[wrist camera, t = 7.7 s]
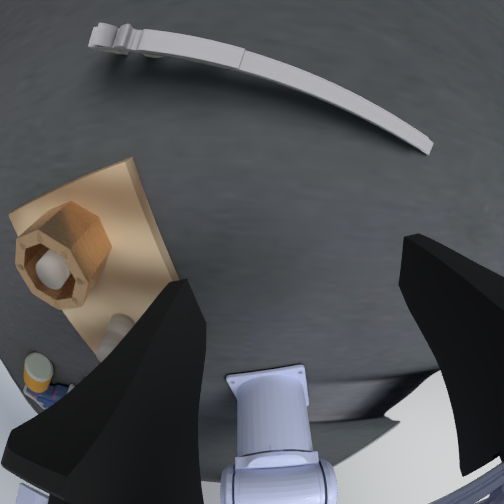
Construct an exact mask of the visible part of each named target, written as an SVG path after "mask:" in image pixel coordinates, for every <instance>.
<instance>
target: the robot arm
mask: <svg viewBox="0 0 504 504" xmlns="http://www.w3.org/2000/svg"><path fill="white" fill-rule="evenodd" d="M399 287H400V289H401V292H402V294H403V297H404V299H405V301H406V304H407V306H408V308H409V310H410V312H411V314H412V316H413V317H414V319H415V321H416V323H417V325H418V326H419V328H420V330H421V332H422V334H423V335H424V337H425V339H426V341H427V343H428V345H429V347H430V348H431V350H432V352H433V354H434V356H435V358H436V360H437V363H438V365H439V367H440V370H441V372H442V376H443V379H444V381H445V384H446V388H447V390H448V394H449V398H450V402H451V406H452V409H453V414H454V419H455V425H456V430H457V437H458V446H459V459H460V470H461V473H462V476H463V477H464V476H466V475H468V474H470V473H472V472H473V471H475V470H477V469H479V468H480V467H482V466H484V465H486V464H487V463H489V462H490V461H492V460H494V459H495V458H497V457H498V456H500V458H501V461H502V463H500V464H499V465H497V466H496V467H495V468H493V469H491V470H490V471H488V472H487V473H485V474H484V475H482V476H481V477H479V478H477V479H476V480H474V481H472V482H471V483H469V484H467V485H465V486H463V487H462V488H460V489H458V490H456V491H454V492H452V493H450V494H448V495H447V496H444V497H442V498H440V499H438V500H436V501H434V502H431V503H429V504H474V503H475V502H477V501H479V500H480V499H482V498H484V497H485V496H487V495H488V494H490V496H489V498H487V499H484V500H482V501H480V502H478V503H475V504H504V277H503V276H501V275H499V274H497V273H495V272H493V271H491V270H489V269H487V268H485V267H483V266H481V265H479V264H477V263H476V262H474V261H472V260H470V259H468V258H466V257H465V256H463V255H461V254H459V253H457V252H455V251H454V250H452V249H450V248H448V247H446V246H444V245H442V244H440V243H439V242H437V241H435V240H433V239H430V238H428V237H426V236H424V235H421V234H414V235H410V236H405V237H404V241H403V252H402V261H401V270H400V278H399ZM205 353H206V321H205V319H204V317H203V315H202V313H201V310H200V308H199V306H198V304H197V301H196V299H195V297H194V295H193V292H192V290H191V288H190V285H189V283H188V281H187V279H183V280H177V281H172V282H169V283H168V284H167V285H166V286H165V288H164V289H163V290H162V291H161V292H160V294H159V295H158V296H157V297H156V298H155V300H154V301H153V302H152V303H151V305H150V306H149V307H148V309H147V310H146V311H145V312H144V313H143V315H142V316H141V317H140V318H139V320H138V321H137V322H136V324H135V325H134V326H133V327H132V328H131V329H130V331H129V332H128V333H127V334H126V335H125V336H124V338H123V339H122V340H121V341H120V342H119V344H118V345H117V346H116V347H115V348H114V349H113V350H112V352H111V353H110V354H109V355H108V356H107V357H106V358H105V359H104V360H103V361H102V362H101V363H100V364H99V365H98V366H97V367H96V368H95V369H94V370H93V371H92V372H91V373H90V374H89V375H88V376H87V377H86V378H84V379H83V380H82V381H81V382H80V383H79V384H78V385H76V386H75V387H74V388H73V389H72V390H71V391H70V392H68V393H67V394H66V395H65V396H64V397H62V398H61V399H60V400H58V401H57V402H56V403H54V404H53V405H52V406H50V407H49V408H47V409H46V410H44V411H43V412H42V413H40V414H38V415H37V416H35V417H34V418H32V419H30V420H29V421H27V422H25V423H23V424H22V425H20V426H18V427H17V428H15V429H13V430H12V431H11V433H10V435H9V438H8V441H7V444H6V447H5V450H4V454H3V457H2V461H1V464H2V466H3V467H4V468H5V469H7V470H8V471H10V472H11V473H13V474H15V475H16V476H18V477H20V478H21V479H23V480H25V481H26V482H28V483H30V484H32V485H34V486H35V487H37V488H39V489H41V490H43V491H45V492H47V493H49V494H50V496H47V495H45V494H43V493H41V492H39V491H38V490H35V489H34V488H31V487H29V486H27V485H25V484H23V483H20V485H19V490H18V495H17V500H16V504H204V502H203V495H202V488H201V478H200V467H199V450H198V409H199V400H200V392H201V384H202V377H203V369H204V361H205ZM226 381H227V382H228V384H229V386H230V388H231V390H232V391H233V393H234V395H235V397H236V398H237V457H235V465H228V466H227V468H225V469H224V470H223V472H222V476H221V488H220V489H221V490H220V495H221V496H220V497H221V504H336V503H337V494H338V492H337V481H336V476H335V472H334V469H333V467H332V465H331V464H330V463H329V462H327V461H326V460H325V459H324V458H321V459H319V458H318V452H317V451H315V452H313V448H312V441H311V434H310V427H309V421H308V414H307V407H306V406H308V405H309V400H308V391H307V383H306V376H305V368H304V366H303V365H294V366H289V367H283V368H277V369H270V370H264V371H256V372H249V373H241V374H232V375H228V376H226Z"/></svg>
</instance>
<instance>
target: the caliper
mask: <svg viewBox="0 0 504 504" xmlns="http://www.w3.org/2000/svg"><path fill="white" fill-rule="evenodd" d="M88 47H90V48H93V49H96V50H100V51H105V52H110V53H115V54H121V55H128V53H129V52H138V53H142V54H143V55H144V56H147V57H151V58H160V57H171V58H177V59H182V60H187V61H191V62H196V63H200V64H205V65H210V66H214V67H218V68H222V69H226V70H234V71H238V72H242V73H245V74H249V75H252V76H255V77H259V78H262V79H265V80H268V81H271V82H274V83H277V84H280V85H283V86H286V87H289V88H292V89H294V90H297V91H300V92H302V93H305V94H308V95H310V96H313V97H315V98H318V99H320V100H322V101H325V102H327V103H329V104H332V105H334V106H336V107H339V108H341V109H343V110H345V111H347V112H349V113H352V114H354V115H356V116H358V117H360V118H362V119H364V120H366V121H368V122H370V123H372V124H374V125H376V126H378V127H380V128H381V129H383V130H385V131H387V132H389V133H391V134H392V135H394V136H396V137H398V138H400V139H401V140H403V141H405V142H407V143H408V144H410V145H412V146H414V147H416V148H417V149H419V150H420V151H422V152H424V153H425V154H427V155H429V153H430V151H431V148H432V146H433V144H434V143H433V142H432V141H431V140H429V138H428V137H427V136H425V135H424V134H422V133H421V132H419V131H418V130H416V129H415V128H413V127H412V126H410V125H409V124H407V123H406V122H404V121H402V120H401V119H399V118H398V117H396V116H394V115H393V114H391V113H389V112H388V111H386V110H384V109H382V108H381V107H379V106H377V105H375V104H373V103H372V102H370V101H368V100H366V99H364V98H362V97H360V96H358V95H357V94H355V93H353V92H351V91H349V90H347V89H344V88H342V87H340V86H338V85H336V84H334V83H332V82H330V81H327V80H325V79H323V78H321V77H318V76H316V75H313V74H311V73H309V72H306V71H304V70H301V69H299V68H296V67H293V66H291V65H288V64H285V63H283V62H280V61H277V60H274V59H271V58H268V57H265V56H262V55H259V54H256V53H252V52H249V51H246V50H245V49H244V48H240V47H236V46H233V45H229V44H225V43H221V42H217V41H213V40H208V39H204V38H199V37H194V36H189V35H183V34H177V33H171V32H164V31H157V30H148V29H143V30H136V29H133V28H132V26H131V25H130V24H125V25H122V26H121V27H120V28H118V27H116V26H113V25H110V24H105V23H99V25H98V27H94V29H93V32H92V35H91V38H90V41H89V45H88Z"/></svg>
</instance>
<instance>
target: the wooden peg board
mask: <svg viewBox="0 0 504 504" xmlns="http://www.w3.org/2000/svg"><path fill="white" fill-rule="evenodd" d="M69 201H73V202H74V203H76V204H78V205H80V206H81V207H83V208H85V209H87V210H88V211H90V212H92V213H94V214H95V215H97V216H98V217H99V218H100V221H101V223H102V225H103V228H104V230H105V232H106V234H107V236H108V239H109V241H110V243H111V245H112V248H111V251H110V254H109V257H108V259H107V262H106V265H105V268H104V270H103V272H102V274H101V275H100V277H99V279H98V280H97V282H96V283H95V285H94V287H93V289H92V290H91V292H90V294H89V295H88V297H87V299H86V301H85V302H84V304H83V306H82V307H78V308H70V309H62V311H63V312H64V314H65V315H66V317H67V318H68V319H69V321H70V322H71V324H72V325H73V326H74V328H75V329H76V330H77V332H78V333H79V334H80V336H81V337H82V338H83V339H84V341H85V342H86V343H87V344H88V346H89V347H90V348H91V349H92V351H93V352H94V353H95V354H96V357H97V359H98V360H99V361H100V362H102V361H103V360H104V359H105V358H106V357H107V356H108V355H109V354H110V353H111V352H112V350H113V349H114V348H115V347H116V346H117V345H118V344H119V342H120V341H121V340H122V339H123V338H124V336H125V335H126V334H127V333H128V332H129V331H130V329H131V328H132V327H133V326H134V325H135V324H136V322H137V321H138V320H139V318H140V317H141V316H142V315H143V313H144V312H145V311H146V310H147V309H148V307H149V306H150V305H151V303H152V302H153V301H154V300H155V298H156V297H157V296H158V295H159V294H160V292H161V291H162V290H163V289H164V288H165V286H166V285H167V284H168V283H169V282H172V281H177V280H180V279H179V277H178V275H177V273H176V270H175V268H174V266H173V263H172V261H171V259H170V256H169V254H168V251H167V249H166V247H165V244H164V242H163V239H162V237H161V234H160V232H159V229H158V227H157V224H156V222H155V219H154V216H153V214H152V211H151V208H150V206H149V203H148V200H147V198H146V195H145V192H144V189H143V187H142V184H141V181H140V178H139V175H138V172H137V169H136V167H135V164H134V161H133V158H132V157H130V158H127V159H124V160H122V161H119V162H116V163H114V164H111V165H108V166H106V167H103V168H101V169H98V170H96V171H93V172H91V173H89V174H86V175H84V176H82V177H79V178H77V179H75V180H72V181H70V182H68V183H66V184H64V185H61V186H59V187H57V188H55V189H53V190H51V191H49V192H47V193H45V194H43V195H41V196H39V197H37V198H35V199H33V200H31V201H29V202H27V203H25V204H23V205H22V206H20V207H18V208H16V209H15V210H14V211H12V212H11V213H10V214H9V218H10V220H11V222H12V224H13V226H14V229H15V231H16V233H17V235H18V237H19V236H20V235H21V234H22V233H23V232H24V231H25V230H26V229H28V228H29V227H30V226H31V225H32V224H33V223H34V222H35V221H37V220H38V219H39V218H40V217H41V216H42V215H43V214H45V213H46V212H47V211H48V210H50V209H52V208H54V207H57V206H59V205H62V204H64V203H67V202H69ZM36 272H37V275H38V277H39V279H40V280H41V281H42V283H43V284H45V285H46V286H47V287H49V288H51V289H55V290H57V289H60V288H61V287H62V286H63V284H64V283H65V282H66V280H67V279H68V277H69V276H70V274H71V271H70V270H69V268H68V266H67V264H66V262H65V260H64V259H63V257H62V256H60V255H59V254H57V253H56V252H54V251H52V250H51V249H49V250H48V251H47V252H46V253H45V254H44V255H43V257H42V258H41V259H40V260H39V261H38V262H37V264H36Z"/></svg>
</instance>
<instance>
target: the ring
mask: <svg viewBox="0 0 504 504" xmlns="http://www.w3.org/2000/svg"><path fill="white" fill-rule="evenodd" d="M111 248H112V245H111V243H110V241H109V239H108V236H107V234H106V232H105V230H104V228H103V225H102V223H101V221H100V218H99V217H98V216H97V215H95V214H94V213H92V212H90V211H88V210H87V209H85V208H83V207H81V206H80V205H78V204H76V203H74V202H73V201H69V202H67V203H64V204H62V205H59V206H57V207H54V208H52V209H50V210H48V211H47V212H46V213H45V214H43V215H42V216H41V217H40V218H39V219H38V220H37V221H35V222H34V223H33V224H32V225H31V226H30V227H29V228H28V229H26V230H25V231H24V232H23V233H22V234H21V235H20V236H19V237H18V238H17V241H16V260H15V266H16V267H17V269H18V271H19V273H20V274H21V276H22V278H23V279H24V281H25V283H26V284H27V286H28V287H29V289H30V291H31V292H32V294H34V295H36V296H37V297H39V298H40V299H42V300H43V301H45V302H47V303H48V304H50V305H51V306H53V307H55V308H56V309H58V310H62V309H70V308H78V307H82V306H83V304H84V302H85V301H86V299H87V297H88V295H89V294H90V292H91V290H92V289H93V287H94V285H95V283H96V282H97V280H98V279H99V277H100V275H101V274H102V272H103V270H104V268H105V265H106V262H107V259H108V257H109V254H110V251H111ZM49 249H51V250H52V251H54V252H56V253H57V254H59V255H60V256H62V257H63V259H64V260H65V262H66V264H67V266H68V268H69V270H70V271H71V274H70V276H69V277H68V279H67V280H66V282H65V283H64V284H63V286H62V287H61V288H60V289H57V290H55V289H51V288H49V287H47V286H46V285H45V284H43V283H42V281H41V280H40V279H39V277H38V275H37V272H36V264H37V262H38V261H39V260H40V259H41V258H42V257H43V255H44V254H45V253H46V252H47V251H48V250H49Z"/></svg>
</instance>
